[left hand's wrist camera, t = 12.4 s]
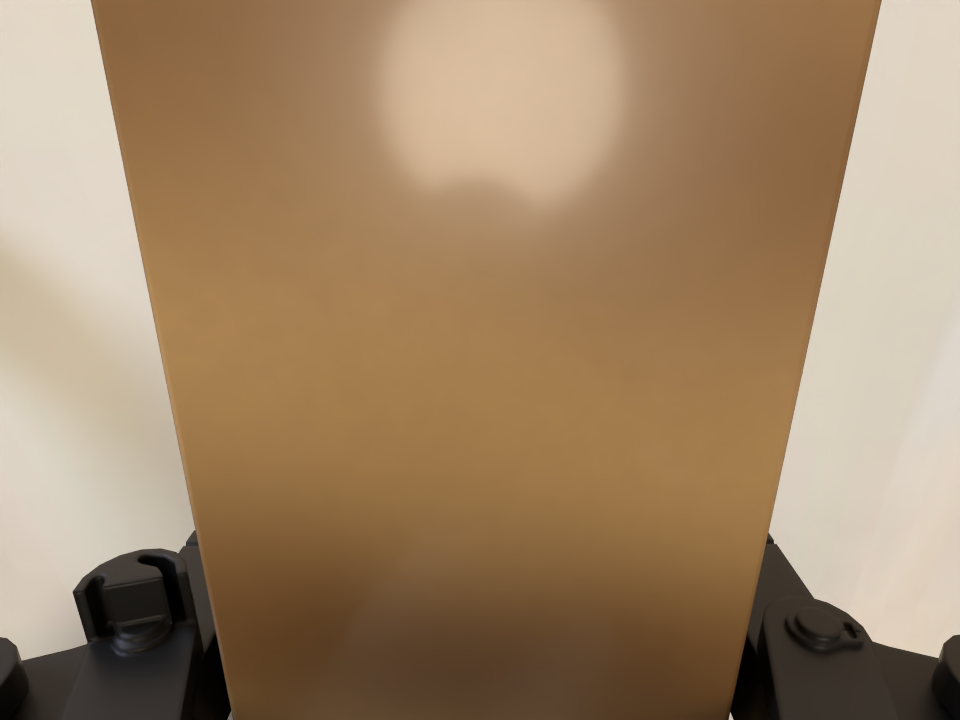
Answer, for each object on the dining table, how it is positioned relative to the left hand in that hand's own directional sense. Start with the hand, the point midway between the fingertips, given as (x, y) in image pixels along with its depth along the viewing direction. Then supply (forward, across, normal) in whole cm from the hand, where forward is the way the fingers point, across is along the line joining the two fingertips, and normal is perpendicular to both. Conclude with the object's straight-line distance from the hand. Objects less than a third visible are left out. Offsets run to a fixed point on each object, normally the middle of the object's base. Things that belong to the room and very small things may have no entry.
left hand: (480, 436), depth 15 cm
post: (+1, 0, -19) cm, 19 cm away
